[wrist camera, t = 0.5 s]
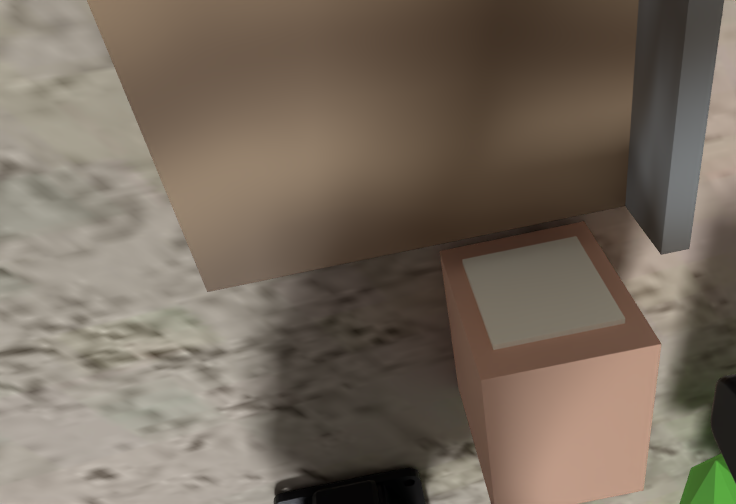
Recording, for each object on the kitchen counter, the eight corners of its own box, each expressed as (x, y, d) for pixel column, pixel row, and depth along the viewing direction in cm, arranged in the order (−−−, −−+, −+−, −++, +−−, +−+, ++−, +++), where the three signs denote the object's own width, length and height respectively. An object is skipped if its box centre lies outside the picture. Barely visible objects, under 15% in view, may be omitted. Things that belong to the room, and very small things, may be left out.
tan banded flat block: (636, 174, 23) (696, 247, 20) (210, 262, 23) (201, 348, 20) (671, -282, 16) (774, -283, 12) (48, -148, 16) (-7, -116, 13)
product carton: (580, 360, 28) (643, 490, 23) (457, 385, 28) (495, 519, 24) (583, 215, 24) (662, 338, 19) (438, 245, 24) (480, 375, 19)
